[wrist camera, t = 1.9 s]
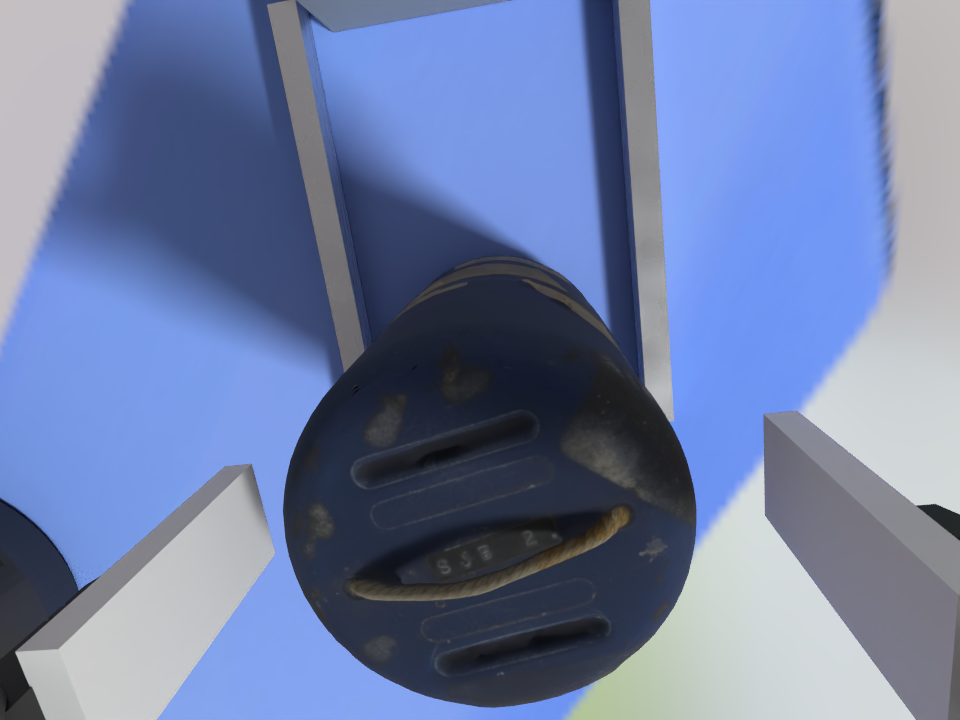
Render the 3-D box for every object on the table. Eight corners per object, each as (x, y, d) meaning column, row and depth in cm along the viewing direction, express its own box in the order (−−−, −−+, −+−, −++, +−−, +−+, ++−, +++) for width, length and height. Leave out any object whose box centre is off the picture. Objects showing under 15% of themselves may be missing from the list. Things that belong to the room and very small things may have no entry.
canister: (396, 259, 28) (188, 362, 10) (597, 242, 27) (737, 324, 10) (419, 444, 30) (283, 776, 13) (604, 435, 29) (724, 775, 12)
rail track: (368, 440, 30) (360, 453, 29) (281, 15, 25) (266, 4, 24) (666, 409, 29) (673, 420, 27) (638, -51, 24) (646, -67, 22)
